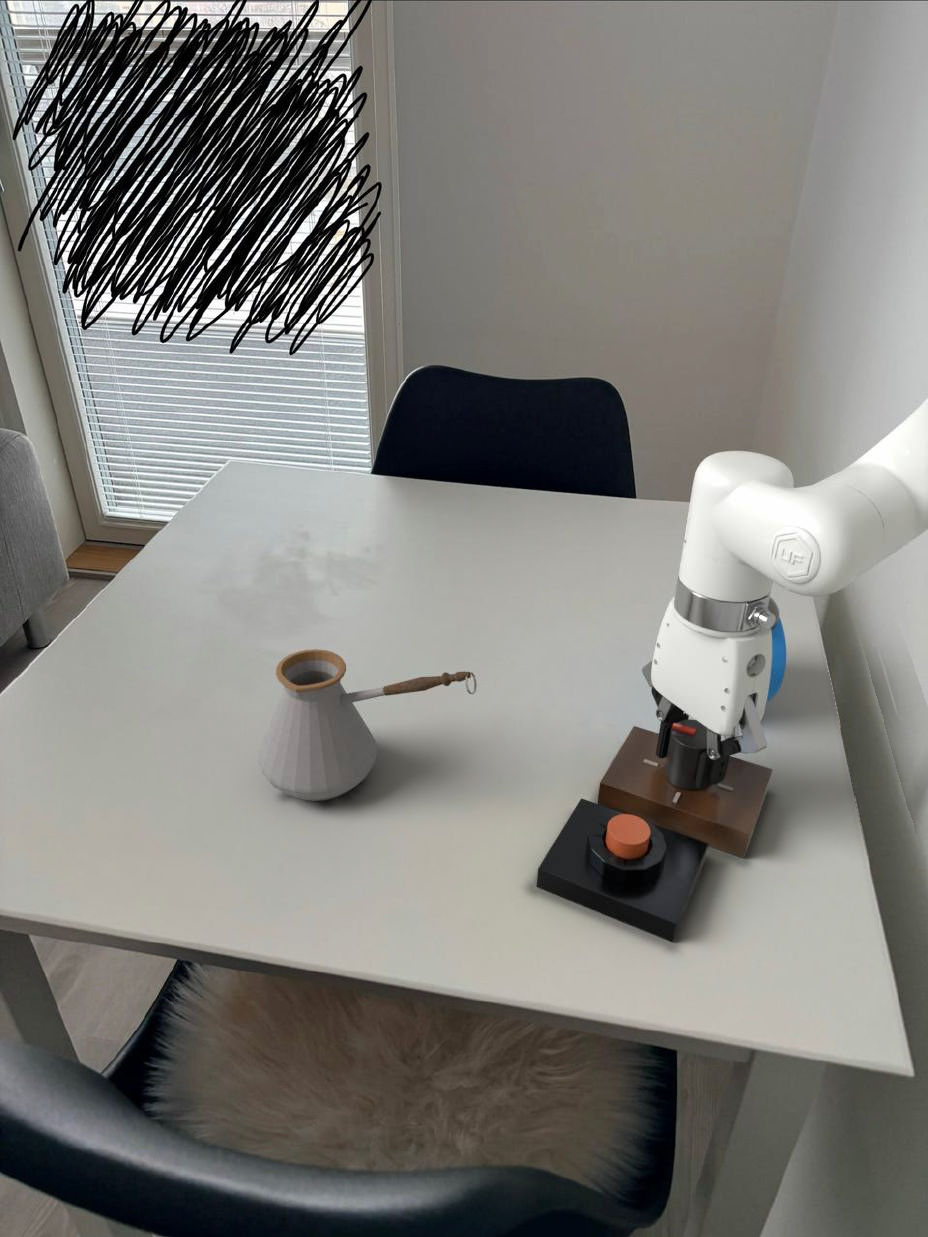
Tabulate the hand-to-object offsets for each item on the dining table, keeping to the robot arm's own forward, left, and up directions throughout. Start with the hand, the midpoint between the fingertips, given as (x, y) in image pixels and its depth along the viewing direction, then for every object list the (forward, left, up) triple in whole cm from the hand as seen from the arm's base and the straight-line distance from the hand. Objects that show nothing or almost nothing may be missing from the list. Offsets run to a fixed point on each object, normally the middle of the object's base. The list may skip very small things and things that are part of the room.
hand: (689, 766), depth 83 cm
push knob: (+2, +12, -1) cm, 12 cm away
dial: (0, 0, -1) cm, 1 cm away
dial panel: (0, 0, -4) cm, 4 cm away
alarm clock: (+1, -19, -4) cm, 20 cm away
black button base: (+2, +12, -4) cm, 13 cm away
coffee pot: (+28, +13, -4) cm, 31 cm away
